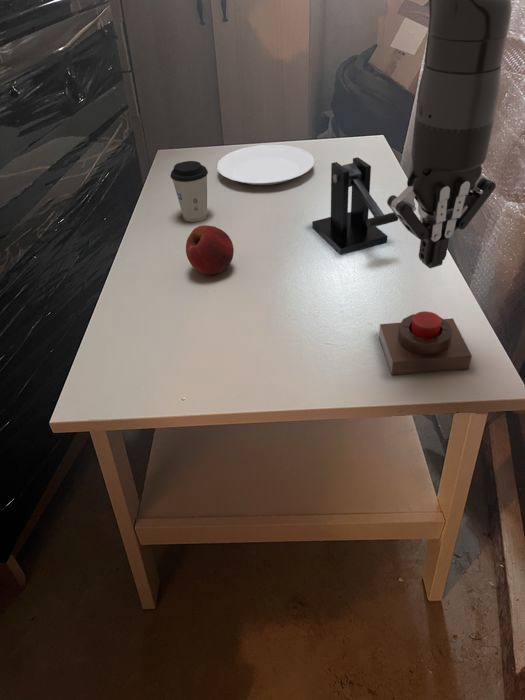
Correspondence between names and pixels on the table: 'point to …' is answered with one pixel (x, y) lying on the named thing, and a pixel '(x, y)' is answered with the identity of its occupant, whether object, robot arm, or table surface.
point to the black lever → (368, 199)
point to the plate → (265, 164)
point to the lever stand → (348, 213)
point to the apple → (209, 249)
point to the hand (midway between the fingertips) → (431, 263)
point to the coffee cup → (191, 189)
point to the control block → (423, 348)
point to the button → (426, 325)
